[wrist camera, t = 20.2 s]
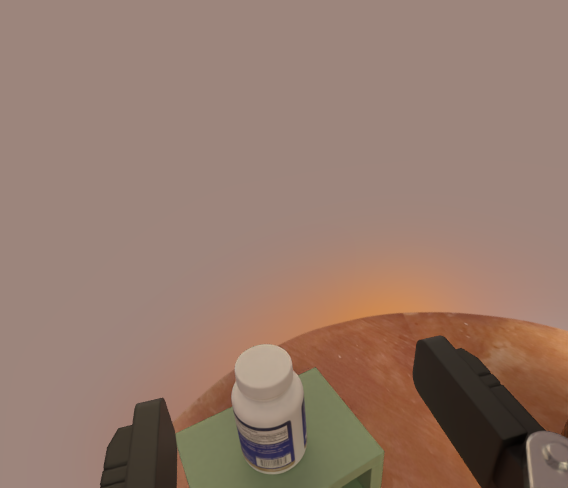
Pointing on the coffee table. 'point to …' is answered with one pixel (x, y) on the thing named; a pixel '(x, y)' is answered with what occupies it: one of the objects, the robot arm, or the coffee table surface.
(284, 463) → the pill bottle
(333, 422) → the stand
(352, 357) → the coffee table surface
